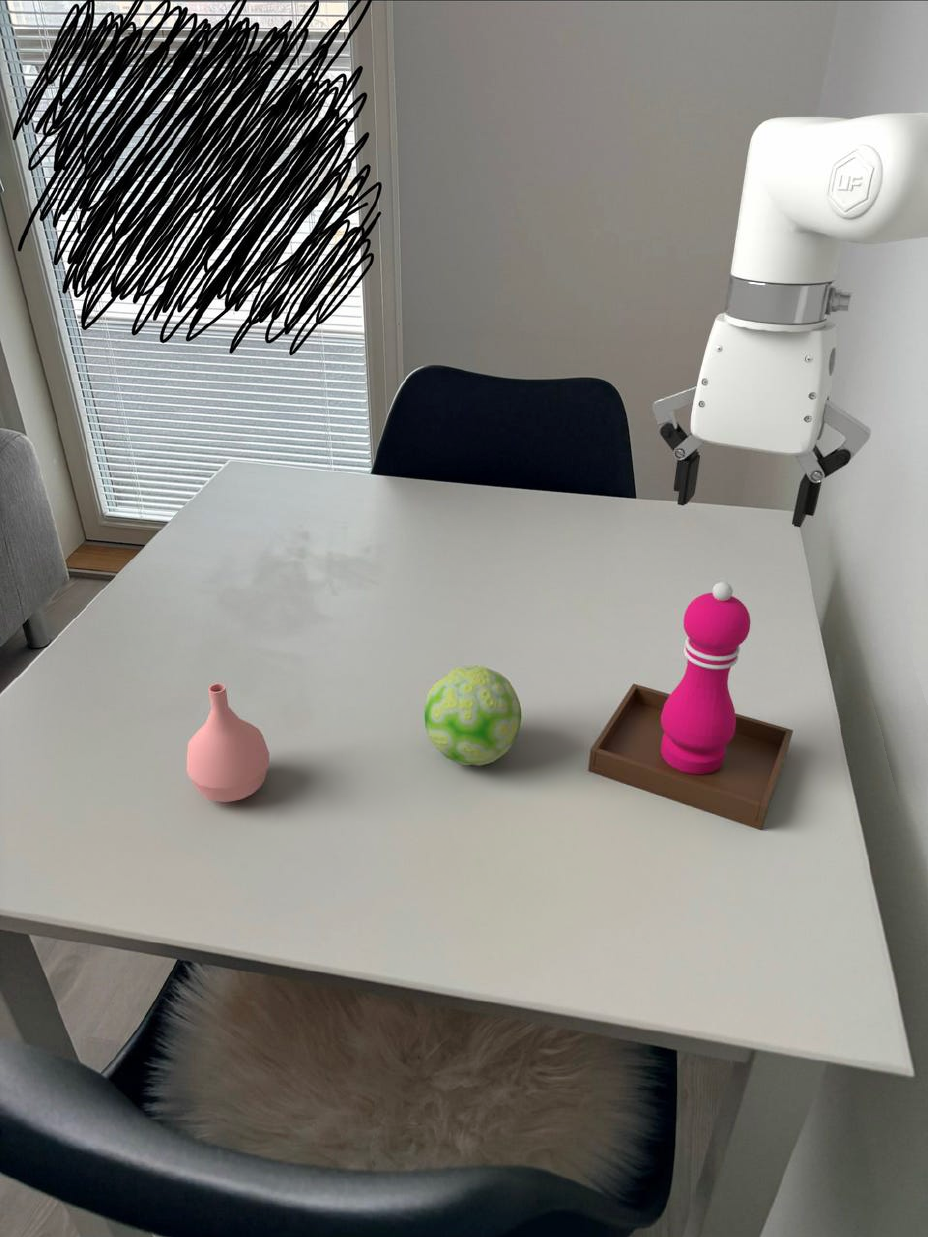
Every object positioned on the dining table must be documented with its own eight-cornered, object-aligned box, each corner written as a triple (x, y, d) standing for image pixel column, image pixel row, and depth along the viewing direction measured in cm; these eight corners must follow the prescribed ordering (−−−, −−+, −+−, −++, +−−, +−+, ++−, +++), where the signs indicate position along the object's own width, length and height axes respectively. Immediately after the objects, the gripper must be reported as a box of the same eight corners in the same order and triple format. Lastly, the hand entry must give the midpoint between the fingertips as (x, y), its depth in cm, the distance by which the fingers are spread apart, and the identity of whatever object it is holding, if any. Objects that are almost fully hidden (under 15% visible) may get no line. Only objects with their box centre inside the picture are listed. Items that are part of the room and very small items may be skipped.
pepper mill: (727, 740, 92) (763, 570, 82) (728, 784, 86) (767, 607, 76) (657, 728, 93) (684, 560, 83) (653, 771, 87) (681, 596, 77)
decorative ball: (405, 747, 91) (403, 667, 86) (481, 714, 96) (483, 637, 91) (461, 800, 84) (463, 717, 79) (540, 761, 89) (546, 681, 84)
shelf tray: (787, 751, 92) (793, 730, 90) (761, 830, 81) (766, 807, 80) (630, 703, 98) (633, 683, 97) (587, 771, 88) (590, 749, 87)
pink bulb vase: (195, 767, 88) (177, 668, 82) (272, 759, 89) (261, 661, 83) (188, 821, 81) (168, 717, 75) (271, 812, 83) (258, 709, 76)
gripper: (904, 305, 66) (853, 514, 75) (679, 286, 73) (656, 479, 82) (894, 322, 61) (840, 547, 69) (652, 300, 68) (630, 506, 76)
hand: (740, 510), depth 75 cm, fingers open, 9 cm apart
